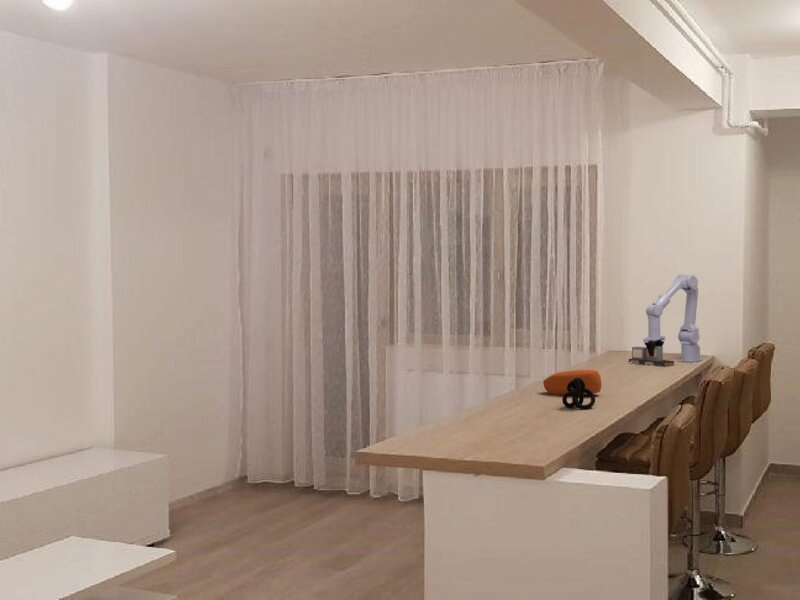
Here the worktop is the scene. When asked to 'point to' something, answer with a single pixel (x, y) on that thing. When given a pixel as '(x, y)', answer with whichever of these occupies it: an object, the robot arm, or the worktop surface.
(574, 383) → the squiggle
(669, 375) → the worktop surface
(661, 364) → the shelf ledge
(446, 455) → the worktop surface
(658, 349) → the box
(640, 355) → the box
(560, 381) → the orange rounded block
